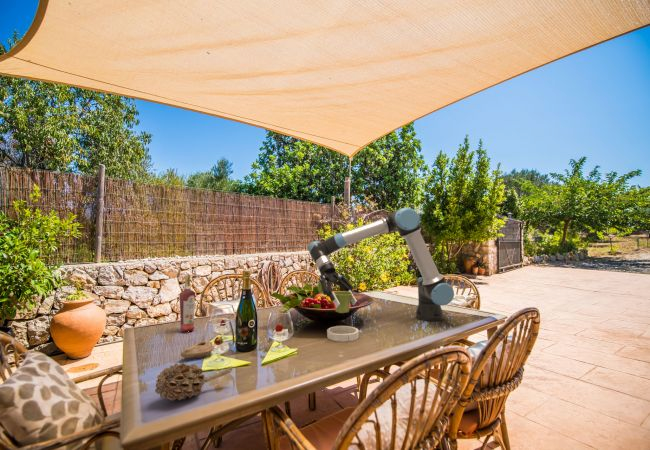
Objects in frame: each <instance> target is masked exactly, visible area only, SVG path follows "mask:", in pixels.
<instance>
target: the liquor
mask: <svg viewBox="0 0 650 450" xmlns="http://www.w3.org/2000/svg"><path fill="white" fill-rule="evenodd" d="M195 304H196V292H195V291H194V290H192V289H191V274H184V290H182V291H181V292H180V293H179V313H180V314H179V317H180V327H179V330H180V331H181V333H183V332H188V331H191V332H193V331H194V329H195V309H196V308H195ZM188 333H189V332H188Z"/></svg>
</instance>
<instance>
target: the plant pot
mask: <svg viewBox="0 0 650 450" xmlns="http://www.w3.org/2000/svg"><path fill="white" fill-rule="evenodd" d="M333 292H334V294H335V295H336V297H337V299H338V301H339V303H340V305H339V306H338V308H336V306H335V305H334V310H335V312H336V313H339V314H345V313H349V312H350V305H351V300H350V298H351V295H352V293H351V292H346V291H345V290H341V291H340V290H339V291H333Z"/></svg>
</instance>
